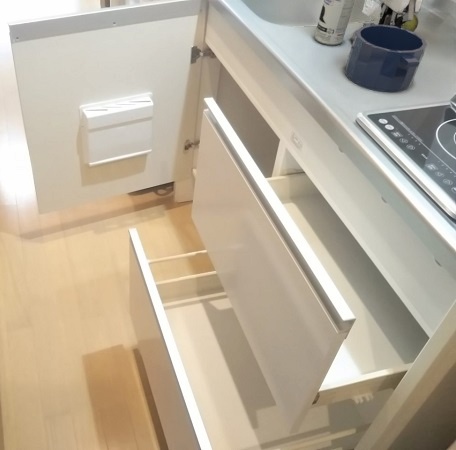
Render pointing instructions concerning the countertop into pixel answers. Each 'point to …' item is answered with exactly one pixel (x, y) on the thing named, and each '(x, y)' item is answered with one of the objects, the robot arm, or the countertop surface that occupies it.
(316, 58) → the countertop surface
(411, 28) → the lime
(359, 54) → the pot
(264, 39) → the countertop surface
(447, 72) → the countertop surface
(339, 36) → the spray can
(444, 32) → the countertop surface
